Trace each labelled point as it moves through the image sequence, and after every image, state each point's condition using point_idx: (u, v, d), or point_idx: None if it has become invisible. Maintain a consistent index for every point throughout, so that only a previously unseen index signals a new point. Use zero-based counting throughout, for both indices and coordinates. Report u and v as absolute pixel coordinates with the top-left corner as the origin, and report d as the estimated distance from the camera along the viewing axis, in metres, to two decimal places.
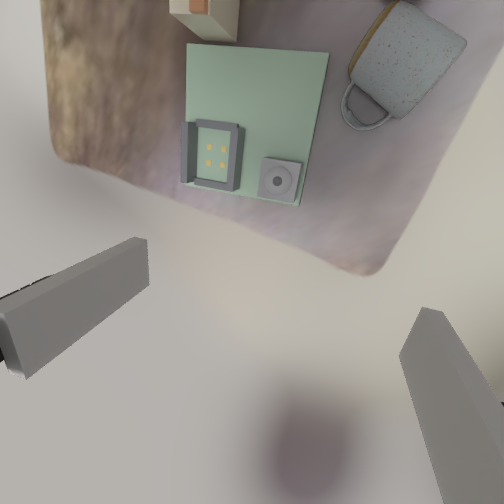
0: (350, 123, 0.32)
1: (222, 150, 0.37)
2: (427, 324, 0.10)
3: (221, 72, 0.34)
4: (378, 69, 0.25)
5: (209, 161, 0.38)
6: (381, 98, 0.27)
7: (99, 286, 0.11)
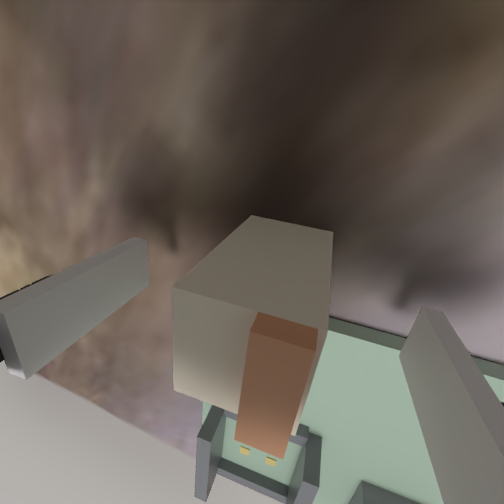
0: None
1: None
2: (427, 324, 0.10)
3: None
4: None
5: (246, 450, 0.21)
6: None
7: (99, 286, 0.11)
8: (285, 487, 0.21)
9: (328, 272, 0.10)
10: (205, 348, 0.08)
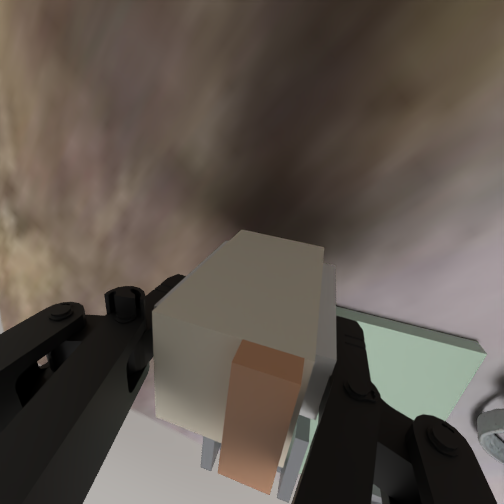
0: (492, 454, 0.19)
1: None
2: None
3: None
4: None
5: None
6: None
7: None
8: None
9: (317, 292, 0.09)
10: (187, 375, 0.08)
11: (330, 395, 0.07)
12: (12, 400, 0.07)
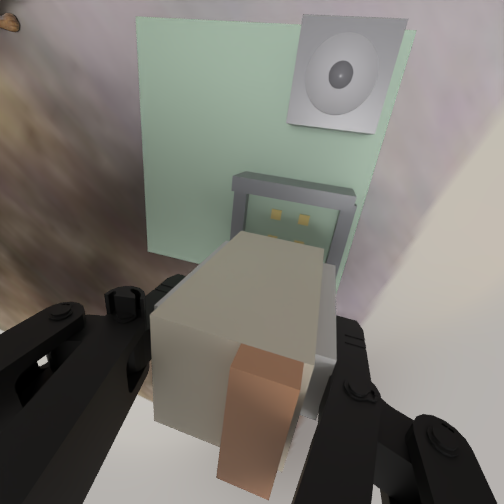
0: None
1: (278, 217, 0.21)
2: None
3: (172, 207, 0.23)
4: None
5: None
6: None
7: None
8: None
9: (317, 295, 0.09)
10: (186, 379, 0.08)
11: (330, 395, 0.07)
12: (12, 400, 0.07)
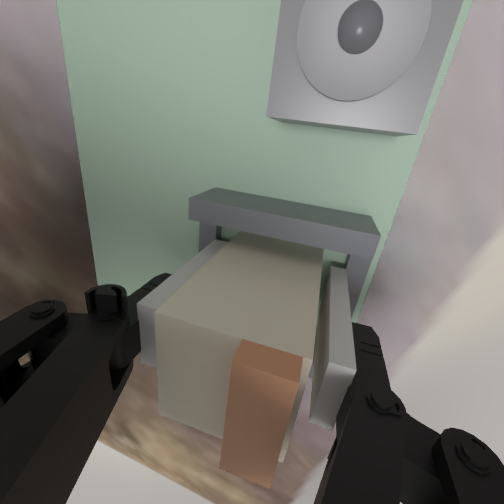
0: None
1: None
2: (329, 277, 0.12)
3: (123, 233, 0.17)
4: None
5: None
6: None
7: None
8: None
9: (316, 292, 0.09)
10: (189, 373, 0.08)
11: (353, 406, 0.06)
12: None
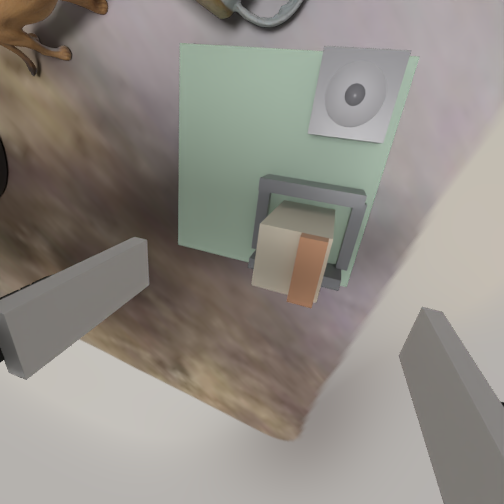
0: None
1: None
2: (428, 324, 0.10)
3: (202, 205, 0.26)
4: None
5: None
6: None
7: (99, 286, 0.11)
8: None
9: (332, 224, 0.18)
10: (273, 256, 0.17)
11: None
12: None
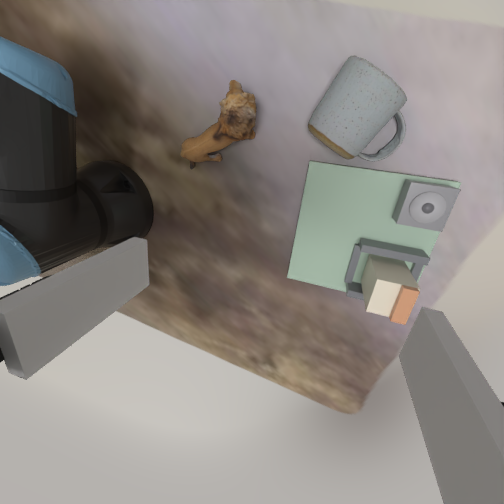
0: (393, 149, 0.32)
1: None
2: (428, 324, 0.10)
3: (310, 253, 0.40)
4: (361, 133, 0.28)
5: None
6: (383, 124, 0.28)
7: (99, 286, 0.11)
8: None
9: (411, 275, 0.32)
10: (382, 296, 0.31)
11: None
12: None
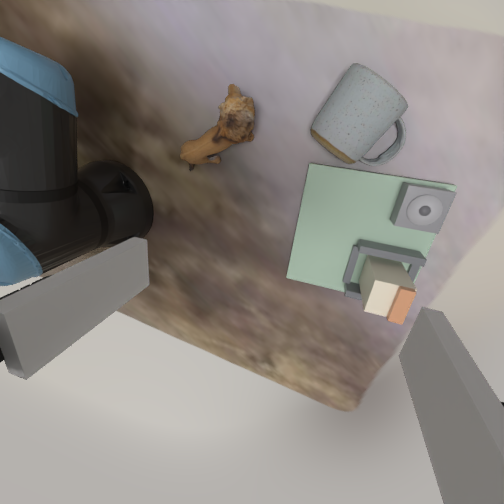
0: (394, 154, 0.32)
1: None
2: (427, 324, 0.10)
3: (309, 254, 0.40)
4: (363, 139, 0.28)
5: None
6: (385, 130, 0.29)
7: (99, 286, 0.11)
8: None
9: (408, 276, 0.33)
10: (380, 296, 0.31)
11: None
12: None
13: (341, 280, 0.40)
